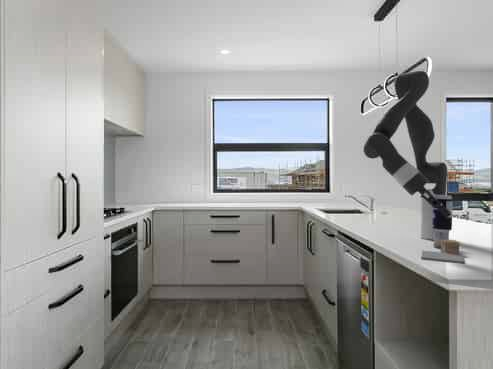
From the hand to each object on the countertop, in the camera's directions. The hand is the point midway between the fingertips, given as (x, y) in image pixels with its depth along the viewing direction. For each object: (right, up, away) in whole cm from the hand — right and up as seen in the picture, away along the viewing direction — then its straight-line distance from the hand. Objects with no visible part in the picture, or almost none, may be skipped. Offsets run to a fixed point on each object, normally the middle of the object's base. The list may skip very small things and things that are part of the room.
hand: (448, 215), depth 117 cm
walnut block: (+5, -14, +8) cm, 17 cm away
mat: (-2, -14, +1) cm, 14 cm away
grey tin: (+7, -14, +18) cm, 24 cm away
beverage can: (-2, -6, +1) cm, 6 cm away
